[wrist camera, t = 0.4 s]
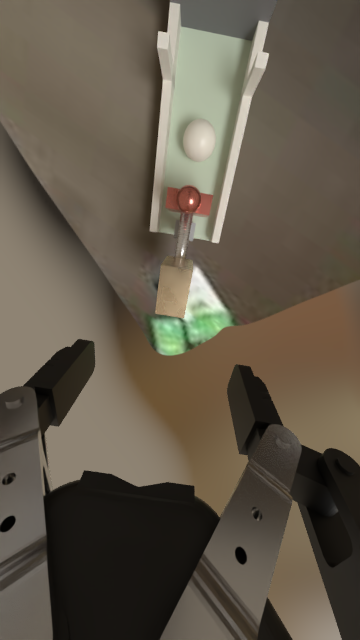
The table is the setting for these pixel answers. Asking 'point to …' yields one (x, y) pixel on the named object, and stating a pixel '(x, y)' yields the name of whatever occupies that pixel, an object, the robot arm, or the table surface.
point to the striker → (180, 250)
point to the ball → (199, 140)
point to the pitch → (206, 100)
